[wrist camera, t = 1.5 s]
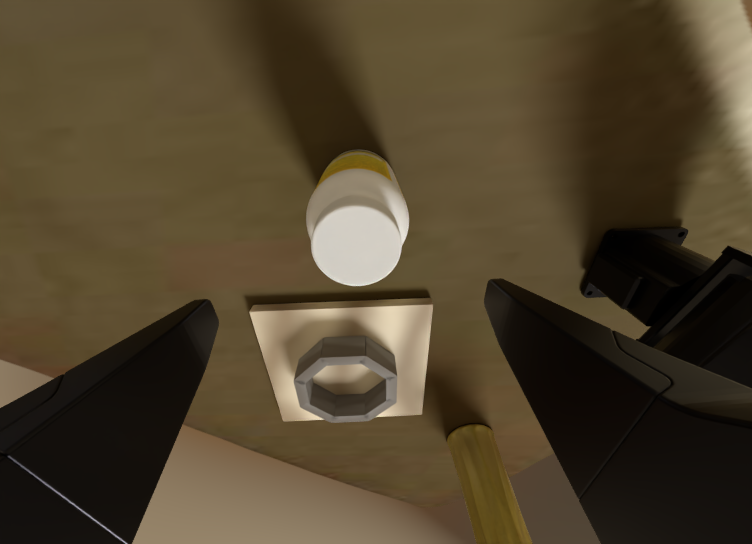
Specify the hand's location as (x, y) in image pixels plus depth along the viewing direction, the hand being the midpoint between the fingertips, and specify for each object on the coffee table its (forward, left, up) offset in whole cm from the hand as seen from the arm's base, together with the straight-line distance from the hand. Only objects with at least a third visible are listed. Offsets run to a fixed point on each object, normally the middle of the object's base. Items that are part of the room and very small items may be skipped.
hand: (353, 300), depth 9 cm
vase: (-13, +33, -14) cm, 38 cm away
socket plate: (+2, +18, -13) cm, 22 cm away
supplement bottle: (0, 0, -14) cm, 14 cm away
